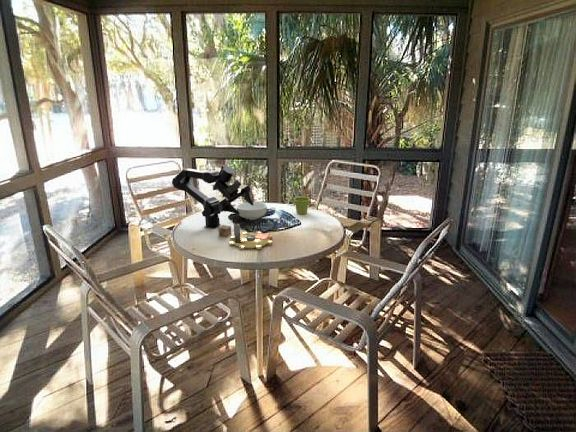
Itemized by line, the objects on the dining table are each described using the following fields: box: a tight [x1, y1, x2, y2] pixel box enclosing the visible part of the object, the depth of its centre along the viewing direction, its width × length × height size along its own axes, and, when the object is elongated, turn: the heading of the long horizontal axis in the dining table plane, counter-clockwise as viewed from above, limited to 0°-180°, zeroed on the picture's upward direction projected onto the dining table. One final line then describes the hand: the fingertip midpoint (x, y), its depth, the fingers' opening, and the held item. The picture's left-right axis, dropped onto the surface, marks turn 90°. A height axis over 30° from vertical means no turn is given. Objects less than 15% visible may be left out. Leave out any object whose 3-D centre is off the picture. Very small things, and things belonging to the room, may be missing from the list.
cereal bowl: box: [236, 201, 268, 221], centre depth 220 cm, size 17×17×7 cm
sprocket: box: [228, 223, 273, 250], centre depth 184 cm, size 21×21×10 cm
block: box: [218, 224, 232, 238], centre depth 194 cm, size 4×4×4 cm
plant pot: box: [293, 196, 311, 215], centre depth 227 cm, size 9×9×9 cm
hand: (246, 209), depth 191 cm, fingers open, 9 cm apart
